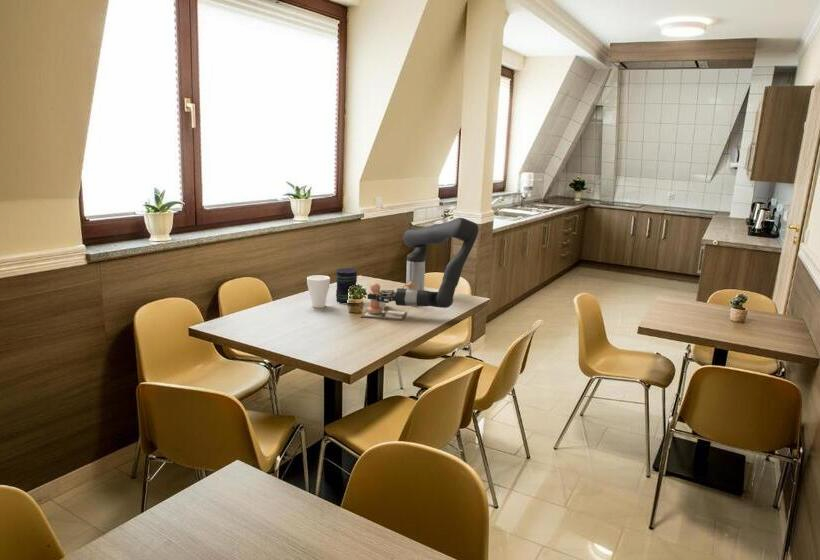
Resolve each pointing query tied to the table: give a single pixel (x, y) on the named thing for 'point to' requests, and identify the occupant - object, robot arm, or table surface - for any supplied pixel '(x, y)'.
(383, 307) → the die
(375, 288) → the pawn
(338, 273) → the storage jar
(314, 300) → the cup
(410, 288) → the figurine
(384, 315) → the game board
